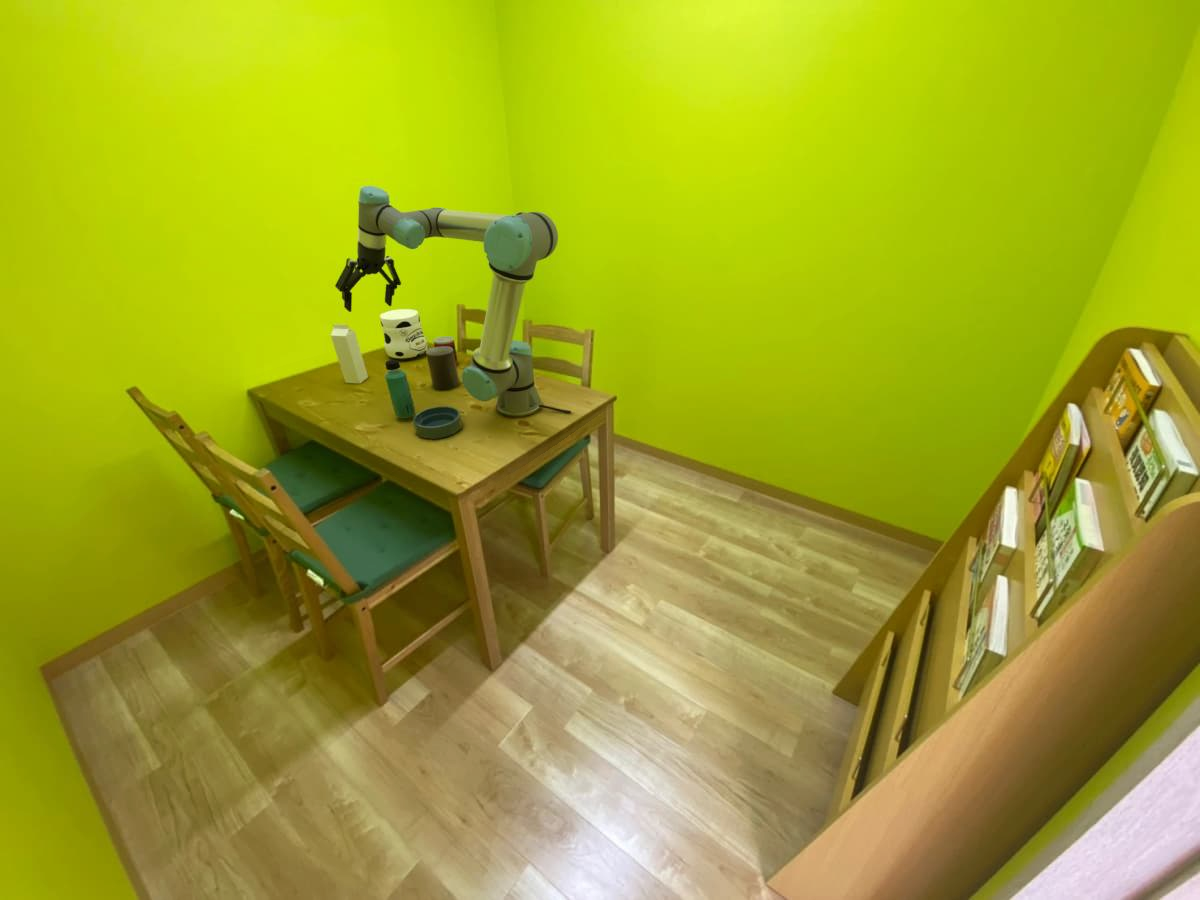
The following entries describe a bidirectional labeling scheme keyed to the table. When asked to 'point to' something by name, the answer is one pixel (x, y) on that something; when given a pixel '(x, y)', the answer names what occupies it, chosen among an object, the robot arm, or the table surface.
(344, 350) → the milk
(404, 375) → the beverage bottle
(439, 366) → the pillar candle
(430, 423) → the dish
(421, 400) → the table surface
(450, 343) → the canned food
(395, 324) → the milk container
